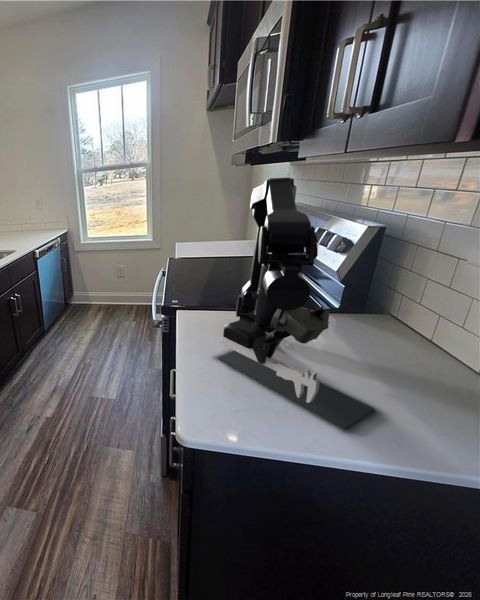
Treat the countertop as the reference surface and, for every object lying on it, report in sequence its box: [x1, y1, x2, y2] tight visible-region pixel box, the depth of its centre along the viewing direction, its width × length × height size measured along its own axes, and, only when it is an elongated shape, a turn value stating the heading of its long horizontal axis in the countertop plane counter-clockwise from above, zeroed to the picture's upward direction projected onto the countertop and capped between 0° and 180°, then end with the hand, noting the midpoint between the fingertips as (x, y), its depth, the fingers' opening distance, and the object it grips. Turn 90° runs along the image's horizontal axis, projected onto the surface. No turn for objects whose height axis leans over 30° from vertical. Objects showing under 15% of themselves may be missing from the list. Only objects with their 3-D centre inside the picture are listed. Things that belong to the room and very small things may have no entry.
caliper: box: [219, 338, 321, 403], centre depth 63 cm, size 20×1×6 cm, turn 26°
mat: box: [217, 350, 376, 431], centre depth 70 cm, size 10×28×1 cm, turn 26°
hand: (263, 362), depth 64 cm, fingers closed on caliper, 1 cm apart
